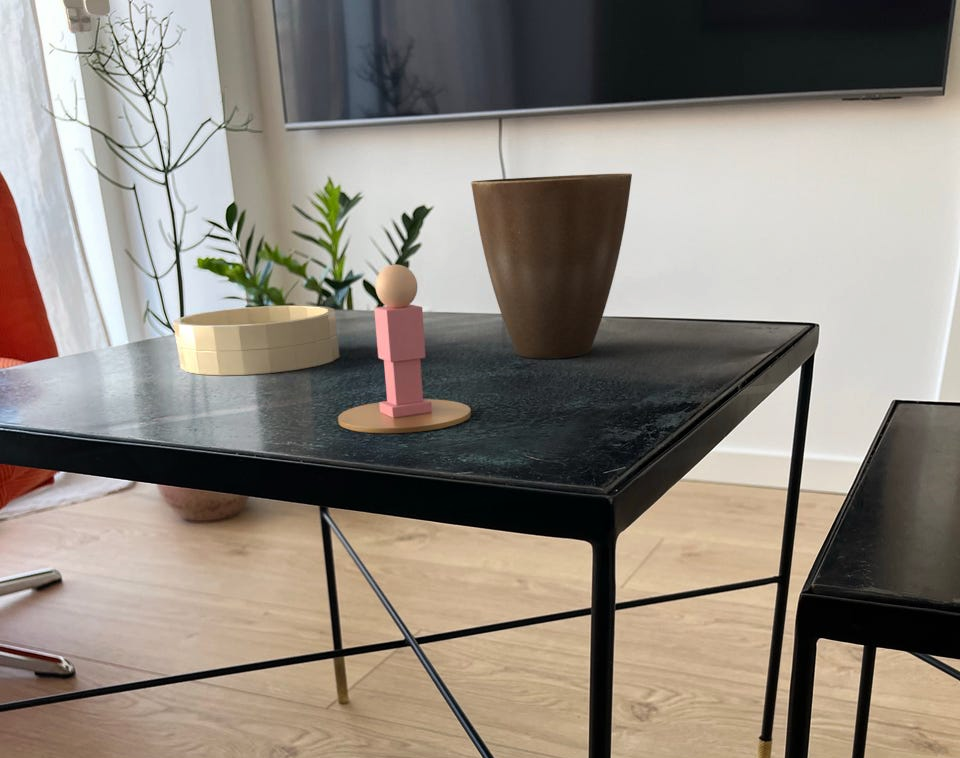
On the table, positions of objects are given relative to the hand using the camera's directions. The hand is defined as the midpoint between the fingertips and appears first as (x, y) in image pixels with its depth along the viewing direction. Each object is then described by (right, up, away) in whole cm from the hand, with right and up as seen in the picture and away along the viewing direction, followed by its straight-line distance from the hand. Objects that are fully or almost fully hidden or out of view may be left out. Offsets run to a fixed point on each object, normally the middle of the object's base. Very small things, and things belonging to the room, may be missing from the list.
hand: (89, 25), depth 84 cm
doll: (+27, -34, -7) cm, 44 cm away
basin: (+11, -24, +17) cm, 31 cm away
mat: (+27, -34, -7) cm, 44 cm away
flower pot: (+40, -22, +17) cm, 49 cm away
